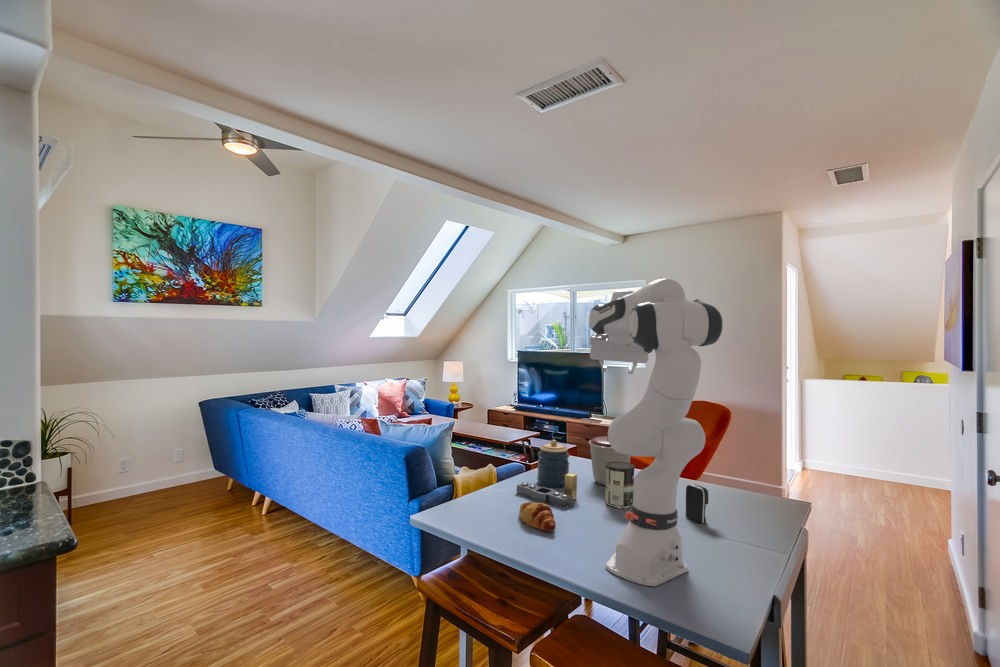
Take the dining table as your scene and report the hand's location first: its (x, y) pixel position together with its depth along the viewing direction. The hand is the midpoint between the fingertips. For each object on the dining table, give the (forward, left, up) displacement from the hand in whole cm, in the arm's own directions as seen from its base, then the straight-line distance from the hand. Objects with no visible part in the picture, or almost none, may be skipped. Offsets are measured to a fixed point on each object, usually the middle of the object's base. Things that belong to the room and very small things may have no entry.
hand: (617, 372), depth 171 cm
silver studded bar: (-13, +22, -48) cm, 54 cm away
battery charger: (+8, -26, -48) cm, 55 cm away
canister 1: (+5, +31, -48) cm, 57 cm away
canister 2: (+23, +15, -48) cm, 55 cm away
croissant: (-32, +10, -48) cm, 59 cm away
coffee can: (+3, 0, -48) cm, 48 cm away
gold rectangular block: (-6, +15, -48) cm, 50 cm away
